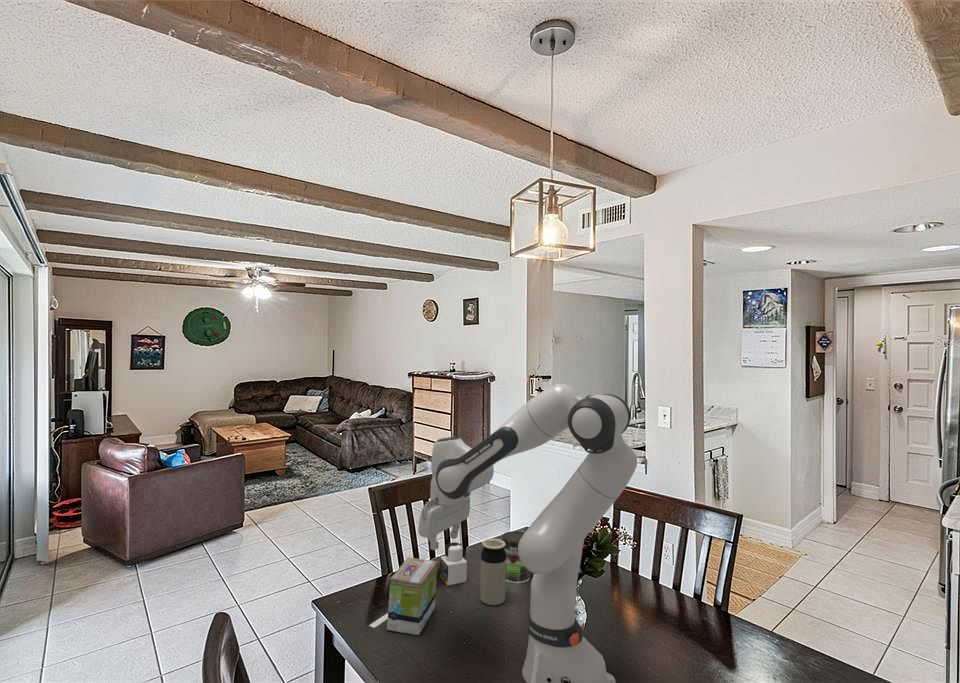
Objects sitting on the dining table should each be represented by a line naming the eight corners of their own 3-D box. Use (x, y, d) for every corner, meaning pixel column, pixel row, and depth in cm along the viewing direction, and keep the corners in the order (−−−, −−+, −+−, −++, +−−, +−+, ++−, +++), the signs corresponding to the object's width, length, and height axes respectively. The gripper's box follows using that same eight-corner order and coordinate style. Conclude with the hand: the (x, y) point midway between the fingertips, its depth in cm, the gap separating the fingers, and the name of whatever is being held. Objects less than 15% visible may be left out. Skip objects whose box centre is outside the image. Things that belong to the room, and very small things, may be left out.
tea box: (420, 636, 135) (422, 583, 135) (386, 630, 137) (388, 578, 137) (436, 608, 149) (437, 559, 149) (405, 603, 151) (406, 555, 151)
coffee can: (527, 586, 165) (528, 544, 165) (497, 581, 168) (498, 540, 168) (532, 572, 174) (533, 533, 175) (505, 568, 178) (505, 529, 178)
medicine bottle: (439, 576, 170) (440, 542, 170) (458, 573, 173) (459, 539, 173) (447, 586, 163) (448, 550, 163) (466, 582, 166) (467, 547, 166)
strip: (412, 602, 152) (412, 601, 152) (374, 628, 138) (374, 627, 138) (407, 600, 153) (407, 599, 153) (369, 626, 139) (369, 625, 139)
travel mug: (501, 608, 150) (502, 549, 150) (476, 603, 153) (477, 545, 153) (507, 596, 158) (509, 540, 158) (484, 591, 160) (485, 536, 160)
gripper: (432, 506, 127) (430, 559, 127) (474, 487, 145) (472, 534, 144) (413, 501, 130) (412, 553, 130) (456, 484, 148) (455, 529, 148)
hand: (444, 543), depth 138 cm, fingers open, 8 cm apart
